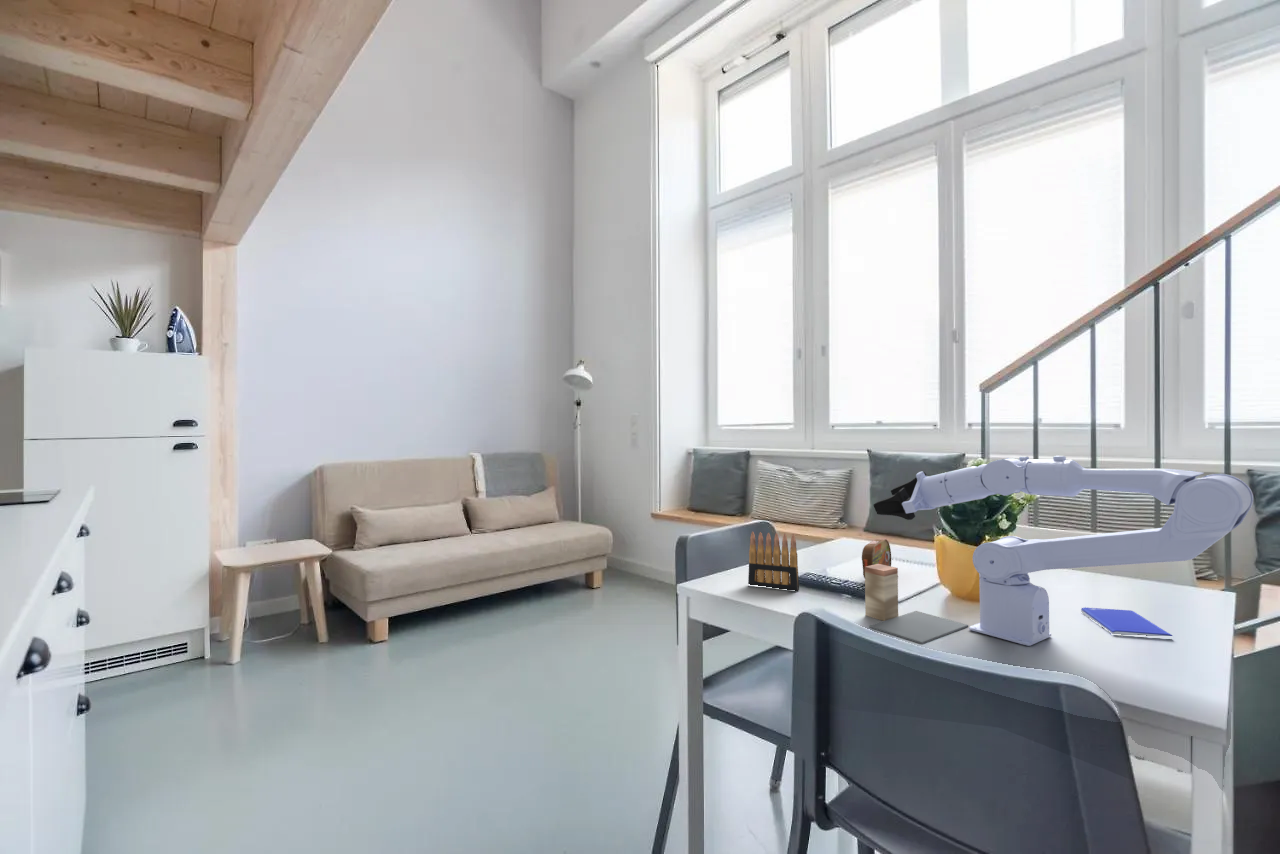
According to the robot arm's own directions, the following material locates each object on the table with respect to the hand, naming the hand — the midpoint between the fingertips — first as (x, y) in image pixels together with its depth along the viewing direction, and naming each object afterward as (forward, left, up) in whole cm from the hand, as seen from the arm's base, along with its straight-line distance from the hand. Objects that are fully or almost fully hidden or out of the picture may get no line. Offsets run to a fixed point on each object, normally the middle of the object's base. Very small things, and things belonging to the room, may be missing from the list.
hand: (884, 501), depth 116 cm
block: (-4, +7, -20) cm, 22 cm away
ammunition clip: (+21, +9, -20) cm, 31 cm away
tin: (+13, -16, -20) cm, 29 cm away
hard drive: (-31, -22, -21) cm, 43 cm away
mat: (-11, +7, -20) cm, 24 cm away
